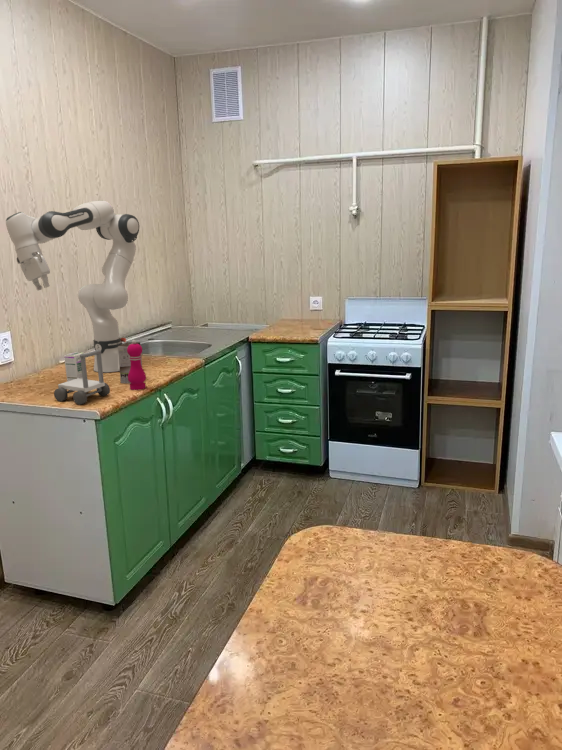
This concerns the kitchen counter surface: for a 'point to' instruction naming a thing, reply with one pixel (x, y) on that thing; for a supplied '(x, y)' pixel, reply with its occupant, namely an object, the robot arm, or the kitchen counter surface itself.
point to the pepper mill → (136, 367)
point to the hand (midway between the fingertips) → (43, 288)
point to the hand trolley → (83, 383)
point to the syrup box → (73, 366)
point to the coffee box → (124, 361)
